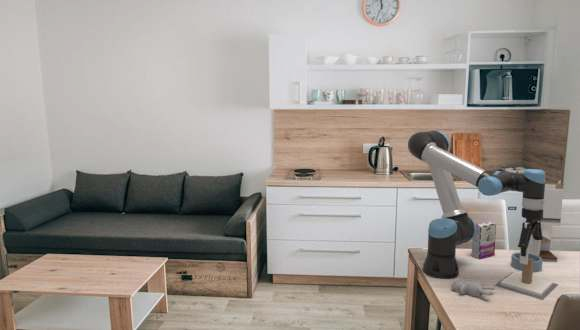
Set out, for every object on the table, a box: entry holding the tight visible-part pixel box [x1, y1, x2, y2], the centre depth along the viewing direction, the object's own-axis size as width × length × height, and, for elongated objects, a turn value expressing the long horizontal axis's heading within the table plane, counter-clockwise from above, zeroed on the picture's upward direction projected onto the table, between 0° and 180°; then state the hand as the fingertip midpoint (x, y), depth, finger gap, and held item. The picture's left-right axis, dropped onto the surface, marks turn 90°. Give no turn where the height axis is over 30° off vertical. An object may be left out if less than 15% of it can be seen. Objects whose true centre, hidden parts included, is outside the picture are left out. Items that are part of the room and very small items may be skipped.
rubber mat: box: [493, 271, 560, 301], centre depth 176 cm, size 20×18×1 cm
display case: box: [528, 184, 564, 263], centre depth 206 cm, size 11×11×35 cm
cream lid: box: [499, 258, 554, 297], centre depth 176 cm, size 15×15×11 cm
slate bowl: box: [510, 251, 544, 273], centre depth 195 cm, size 12×12×6 cm
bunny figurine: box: [450, 279, 495, 298], centre depth 170 cm, size 10×5×15 cm
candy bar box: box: [471, 221, 497, 260], centre depth 210 cm, size 11×5×16 cm, turn 117°
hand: (529, 259), depth 174 cm, fingers open, 13 cm apart
